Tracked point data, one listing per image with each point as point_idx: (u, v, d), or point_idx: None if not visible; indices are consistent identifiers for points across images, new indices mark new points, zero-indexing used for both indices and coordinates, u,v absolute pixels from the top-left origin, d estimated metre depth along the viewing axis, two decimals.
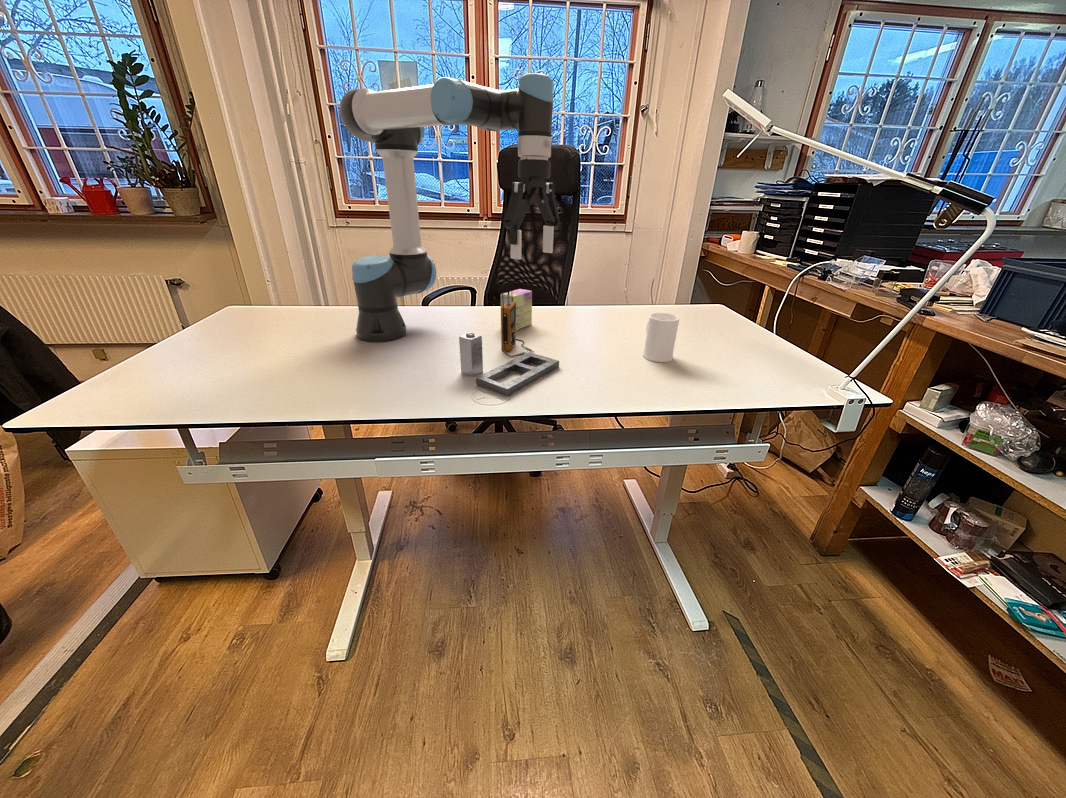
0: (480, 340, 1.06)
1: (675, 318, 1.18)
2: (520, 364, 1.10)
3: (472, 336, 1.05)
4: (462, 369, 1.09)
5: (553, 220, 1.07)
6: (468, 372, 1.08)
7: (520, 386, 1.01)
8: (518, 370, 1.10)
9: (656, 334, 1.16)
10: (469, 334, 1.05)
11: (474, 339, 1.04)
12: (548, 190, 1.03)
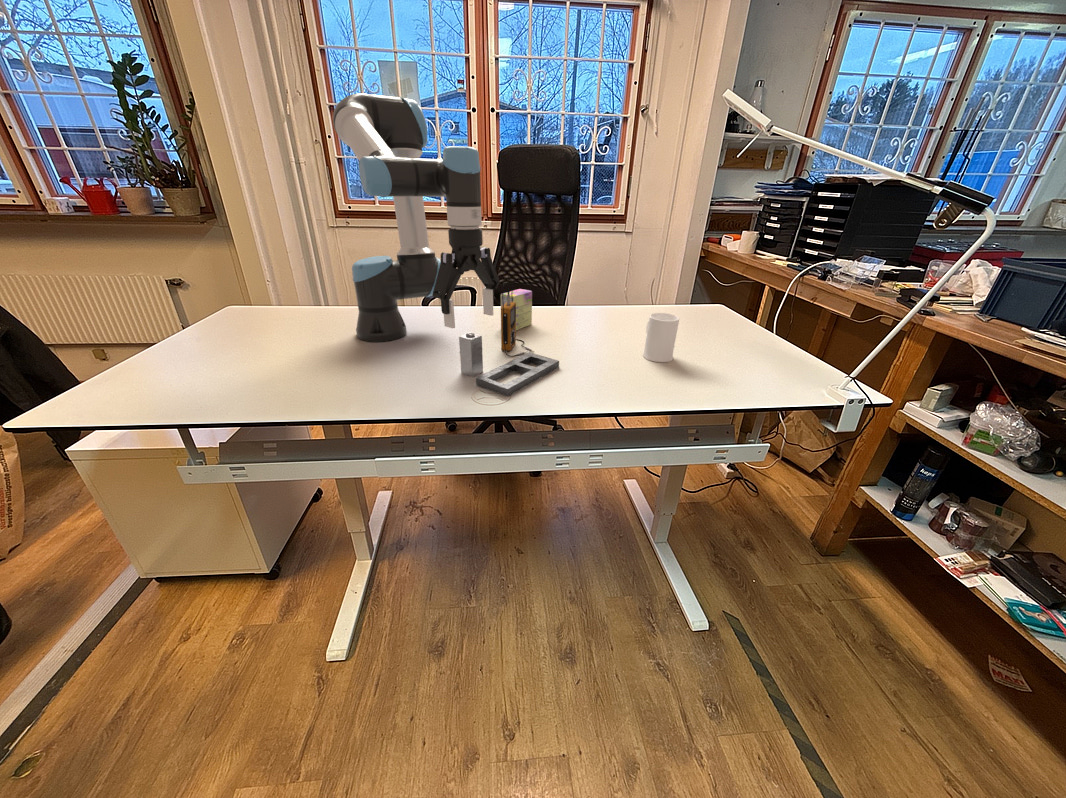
0: (480, 340, 1.06)
1: (675, 318, 1.18)
2: (520, 364, 1.10)
3: (472, 336, 1.05)
4: (462, 369, 1.09)
5: (492, 283, 1.04)
6: (468, 372, 1.08)
7: (520, 386, 1.01)
8: (518, 370, 1.10)
9: (656, 334, 1.16)
10: (469, 334, 1.05)
11: (474, 339, 1.04)
12: (484, 255, 1.00)
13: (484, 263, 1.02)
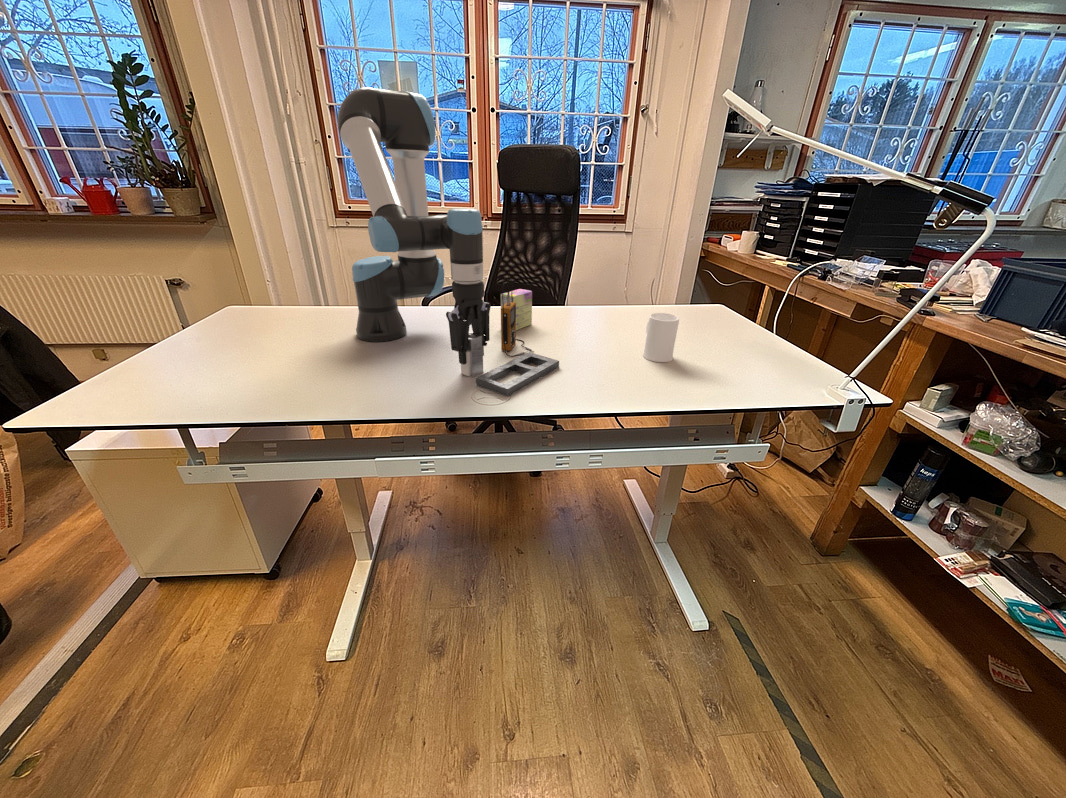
0: (480, 340, 1.06)
1: (675, 318, 1.18)
2: (520, 364, 1.10)
3: (472, 336, 1.05)
4: None
5: (482, 340, 1.08)
6: None
7: (520, 386, 1.01)
8: (518, 370, 1.10)
9: (656, 334, 1.16)
10: (469, 334, 1.05)
11: (474, 339, 1.04)
12: (484, 308, 1.06)
13: (481, 316, 1.07)
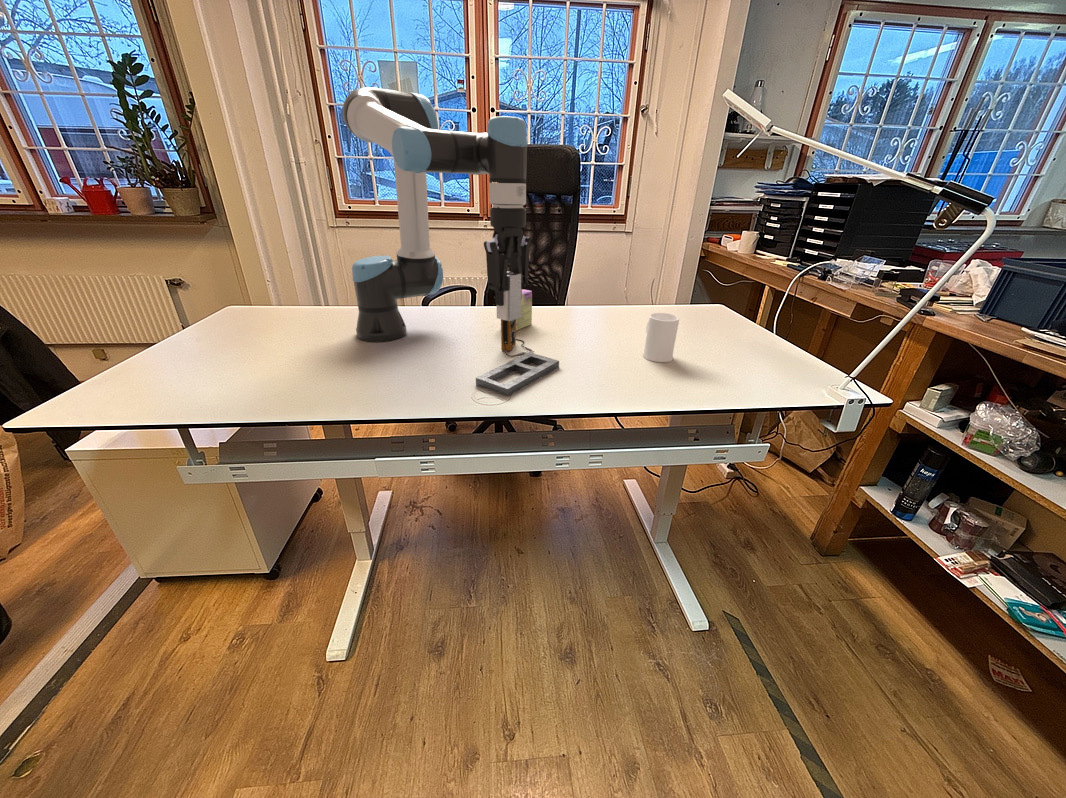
0: (519, 279, 0.94)
1: (675, 318, 1.18)
2: (520, 364, 1.10)
3: (511, 273, 0.93)
4: None
5: (521, 280, 0.96)
6: None
7: (520, 386, 1.01)
8: (518, 370, 1.10)
9: (656, 334, 1.16)
10: (507, 271, 0.93)
11: (513, 276, 0.92)
12: (523, 242, 0.94)
13: None
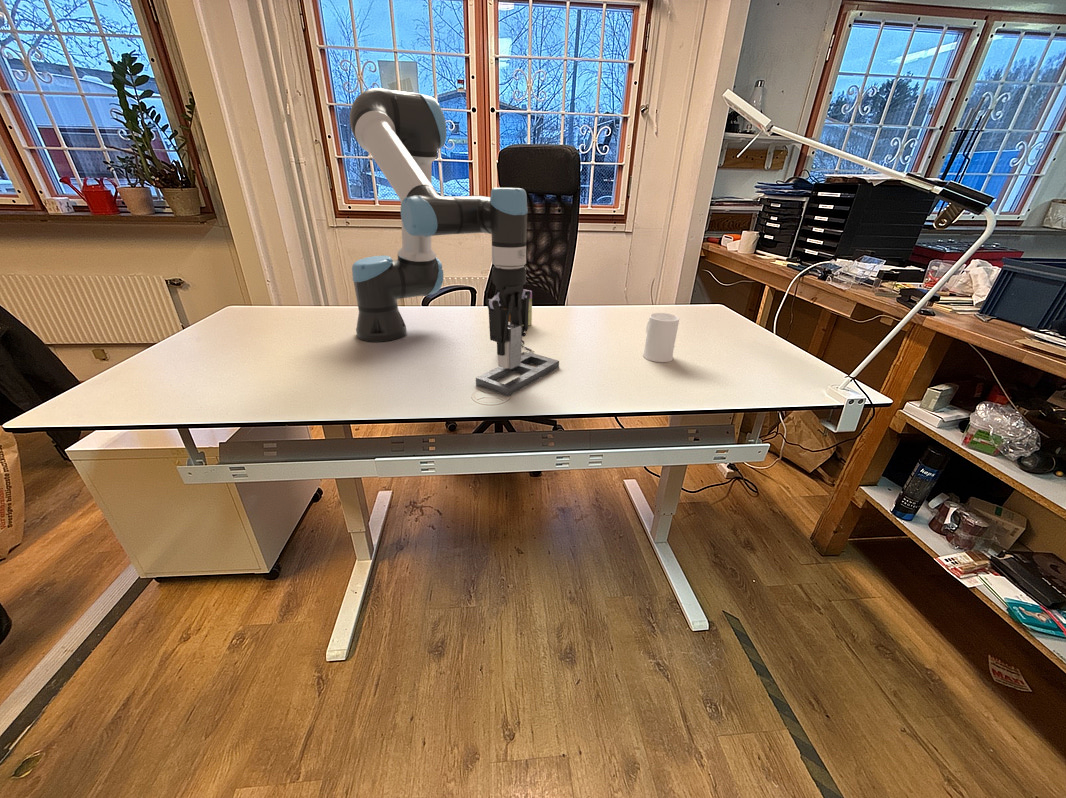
0: (520, 330, 1.00)
1: (675, 318, 1.18)
2: None
3: (512, 326, 0.98)
4: None
5: (521, 330, 1.02)
6: None
7: (520, 386, 1.01)
8: (518, 370, 1.10)
9: (656, 334, 1.16)
10: (508, 323, 0.99)
11: (514, 329, 0.98)
12: (523, 296, 0.99)
13: None
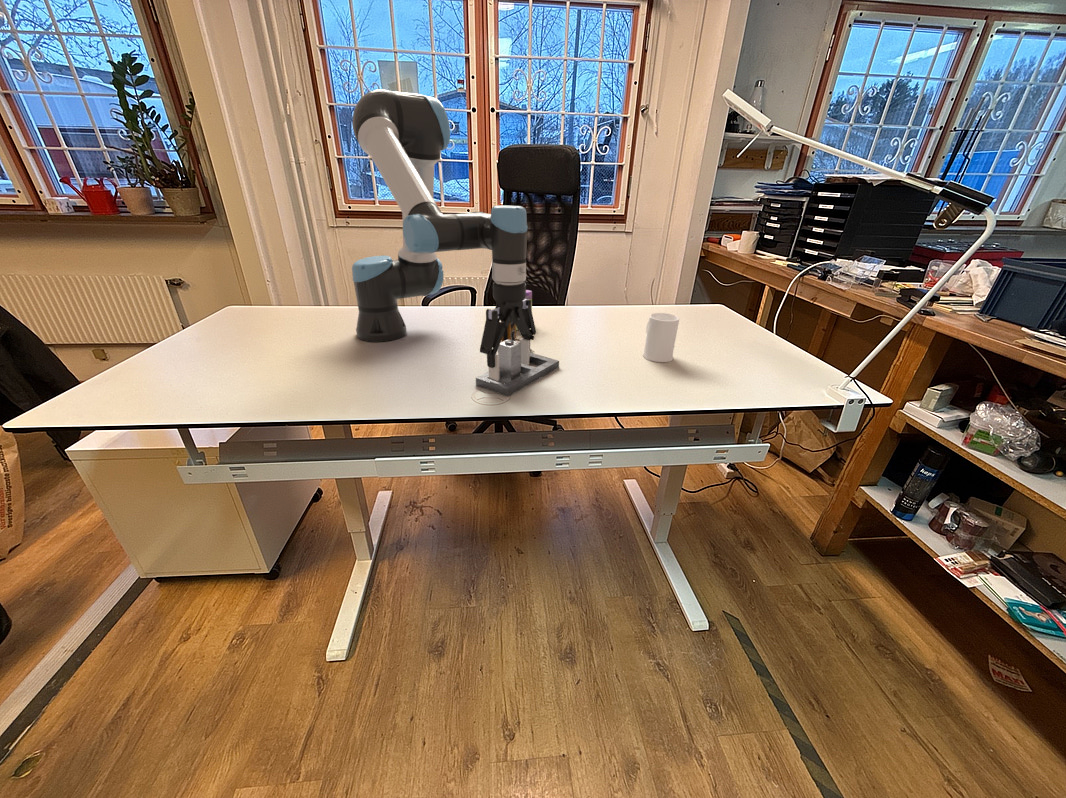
0: (519, 348, 1.02)
1: (675, 318, 1.18)
2: None
3: (511, 344, 1.00)
4: (499, 378, 1.05)
5: (529, 334, 1.05)
6: (506, 380, 1.04)
7: (520, 386, 1.01)
8: None
9: (656, 334, 1.16)
10: (508, 341, 1.01)
11: (514, 347, 1.00)
12: (525, 306, 1.01)
13: (523, 314, 1.03)
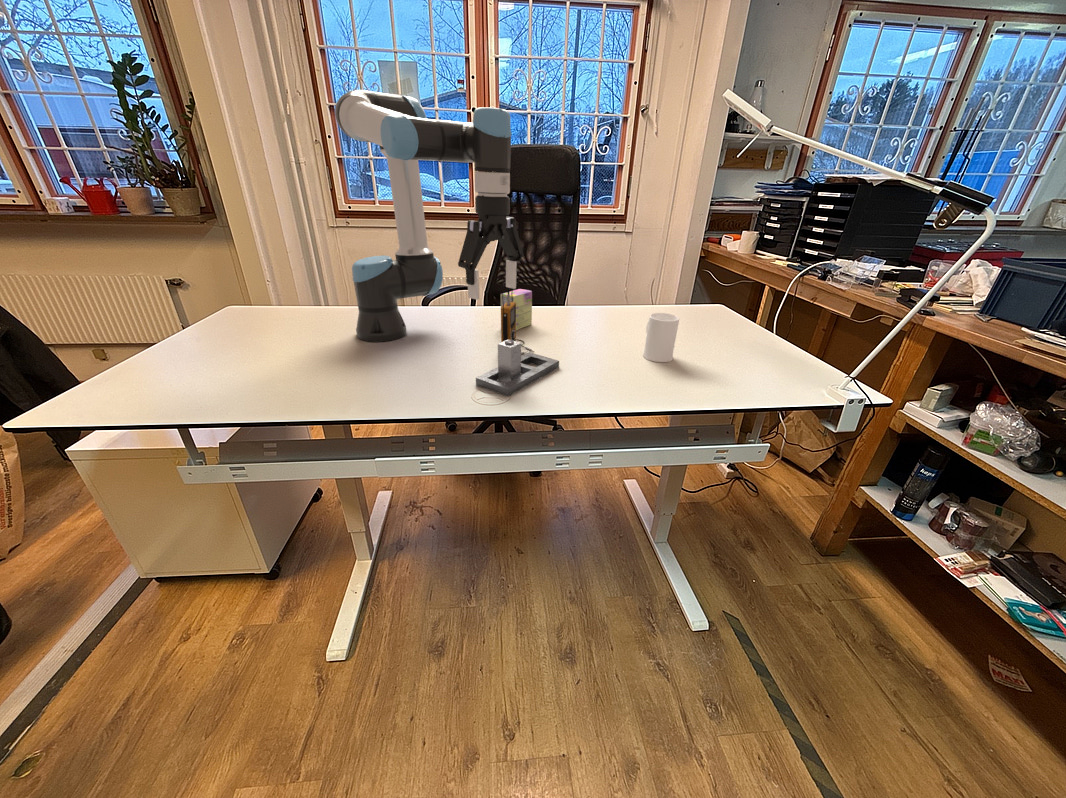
0: (519, 348, 1.02)
1: (675, 318, 1.18)
2: None
3: (512, 344, 1.00)
4: (499, 378, 1.05)
5: (516, 255, 1.02)
6: (506, 380, 1.04)
7: (520, 386, 1.01)
8: None
9: (656, 334, 1.16)
10: (508, 341, 1.01)
11: (514, 347, 1.00)
12: (509, 225, 0.98)
13: (509, 234, 1.00)
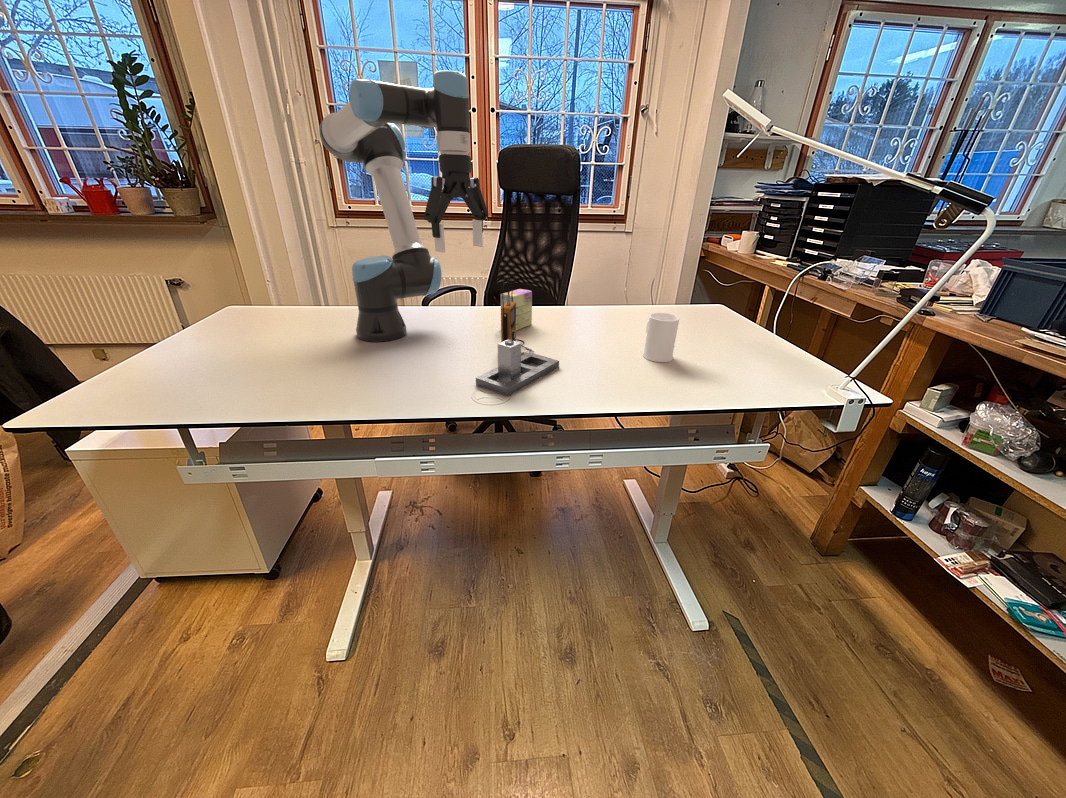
0: (519, 348, 1.02)
1: (675, 318, 1.18)
2: None
3: (512, 344, 1.00)
4: (499, 378, 1.05)
5: (481, 214, 1.10)
6: (506, 380, 1.04)
7: (520, 386, 1.01)
8: None
9: (656, 334, 1.16)
10: (508, 341, 1.01)
11: (514, 347, 1.00)
12: (473, 185, 1.05)
13: (473, 194, 1.08)
